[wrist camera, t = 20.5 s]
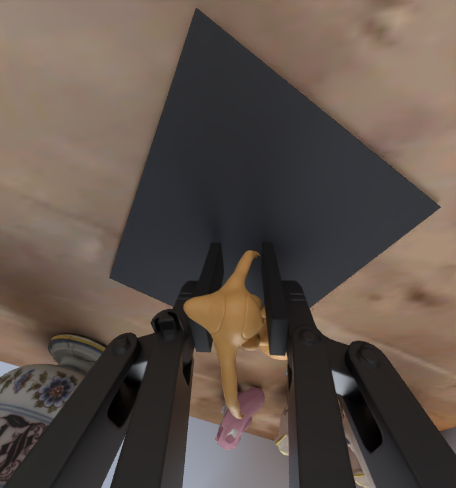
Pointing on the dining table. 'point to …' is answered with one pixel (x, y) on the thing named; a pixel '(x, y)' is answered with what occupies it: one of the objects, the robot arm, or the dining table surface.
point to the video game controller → (234, 426)
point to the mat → (256, 181)
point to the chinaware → (355, 454)
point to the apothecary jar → (40, 396)
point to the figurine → (232, 325)
